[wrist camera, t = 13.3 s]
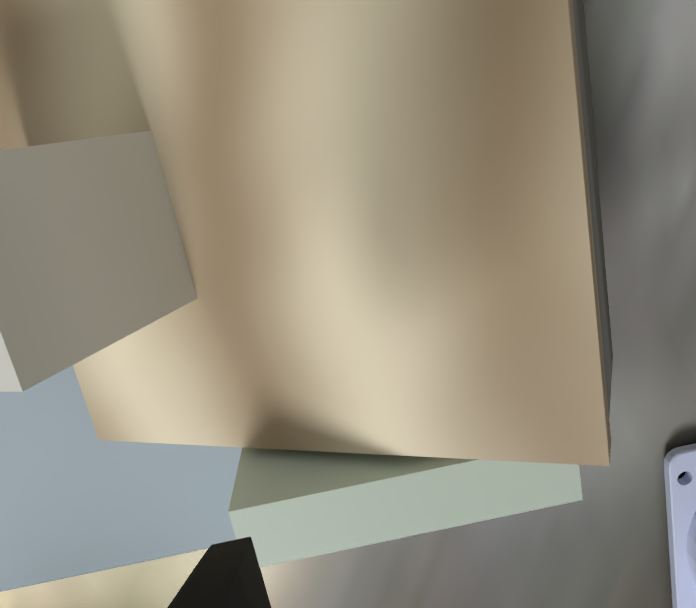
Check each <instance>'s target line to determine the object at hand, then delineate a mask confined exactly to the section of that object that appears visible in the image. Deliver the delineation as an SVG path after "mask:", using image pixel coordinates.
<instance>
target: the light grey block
mask: <svg viewBox="0 0 696 608" xmlns="http://www.w3.org/2000/svg"><path fill="white" fill-rule="evenodd" d="M196 299H197V295H196V291H195V288H194V284H193V280H192V277H191V273H190V269H189V266H188V262H187V258H186V255H185V251H184V247H183V244H182V240H181V237H180V233H179V229H178V226H177V222H176V218H175V215H174V211H173V207H172V204H171V200H170V196H169V193H168V189H167V186H166V182H165V178H164V175H163V171H162V167H161V164H160V160H159V156H158V153H157V149H156V145H155V142H154V138H153V134H152V131H144V132H136V133H129V134H121V135H113V136H106V137H98V138H90V139H83V140H75V141H67V142H60V143H52V144H44V145H37V146H29V147H21V148H14V149H6V150H0V392H23V391H25V390H27V389H29V388H31V387H33V386H35V385H36V384H38V383H40V382H42V381H44V380H46V379H48V378H50V377H51V376H53V375H55V374H57V373H59V372H61V371H63V370H65V369H66V368H68V367H70V366H72V365H74V364H76V363H78V362H80V361H81V360H83V359H85V358H87V357H89V356H91V355H93V354H95V353H96V352H98V351H100V350H102V349H104V348H106V347H108V346H110V345H111V344H113V343H115V342H117V341H119V340H121V339H123V338H125V337H126V336H128V335H130V334H132V333H134V332H136V331H138V330H139V329H141V328H143V327H145V326H147V325H149V324H151V323H153V322H154V321H156V320H158V319H160V318H162V317H164V316H166V315H168V314H169V313H171V312H173V311H175V310H177V309H179V308H181V307H183V306H184V305H186V304H188V303H190V302H192V301H194V300H196Z"/></svg>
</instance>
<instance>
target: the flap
mask: <svg viewBox="0 0 696 608" xmlns="http://www.w3.org/2000/svg"><path fill="white" fill-rule="evenodd" d="M144 131H152V134H153V138H154V142H155V145H156V149H157V153H158V156H159V160H160V164H161V167H162V171H163V175H164V178H165V182H166V186H167V189H168V193H169V196H170V200H171V204H172V207H173V211H174V215H175V218H176V222H177V226H178V229H179V233H180V237H181V240H182V244H183V247H184V251H185V255H186V258H187V262H188V266H189V269H190V273H191V277H192V280H193V284H194V288H195V291H196V295H197V299H196V300H194V301H192V302H190V303H188V304H186V305H184V306H183V307H181V308H179V309H177V310H175V311H173V312H171V313H169V314H168V315H166V316H164V317H162V318H160V319H158V320H156V321H154V322H153V323H151V324H149V325H147V326H145V327H143V328H141V329H139V330H138V331H136V332H134V333H132V334H130V335H128V336H126V337H125V338H123V339H121V340H119V341H117V342H115V343H113V344H111V345H110V346H108V347H106V348H104V349H102V350H100V351H98V352H96V353H95V354H93V355H91V356H89V357H87V358H85V359H83V360H81V361H80V362H78V363H76V364H74V365H73V368H74V370H75V373H76V376H77V379H78V382H79V385H80V388H81V391H82V394H83V396H84V399H85V402H86V405H87V408H88V411H89V414H90V417H91V420H92V422H93V425H94V428H95V431H96V434H97V437H98V440H105V441H124V442H144V443H164V444H183V445H203V446H223V447H242V448H262V449H282V450H301V451H321V452H341V453H360V454H380V455H400V456H419V457H439V458H459V459H478V460H498V461H518V462H537V463H557V464H577V465H596V466H610V449H611V435H610V423H609V412H610V394H611V377H612V359H613V353H612V341H611V329H610V317H609V305H608V293H607V282H606V270H605V258H604V246H603V234H602V222H601V210H600V198H599V186H598V174H597V162H596V150H595V138H594V126H593V114H592V102H591V90H590V78H589V66H588V54H587V42H586V30H585V18H584V6H583V0H0V150H6V149H14V148H21V147H29V146H37V145H44V144H52V143H60V142H67V141H75V140H83V139H90V138H98V137H106V136H113V135H121V134H129V133H136V132H144Z"/></svg>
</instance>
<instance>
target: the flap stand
mask: <svg viewBox="0 0 696 608" xmlns="http://www.w3.org/2000/svg"><path fill="white" fill-rule="evenodd" d="M580 500H583V499H582V490H581V480H580V471H579V465H577V464H557V463H537V462H518V461H498V460H478V459H459V458H439V457H419V456H400V455H380V454H360V453H341V452H321V451H301V450H282V449H262V448H242V451H241V455H240V460H239V464H238V469H237V474H236V478H235V483H234V487H233V492H232V497H231V501H230V506H229V511H228V513H229V516H230V520H231V523H232V527H233V530H234V533H235V537H236V539H241V538H246V537H251V539H252V542H253V546H254V549H255V553H256V556H257V560H258V563H259V567H265V566H269V565H274V564H279V563H284V562H288V561H293V560H298V559H303V558H308V557H312V556H317V555H322V554H327V553H331V552H336V551H341V550H346V549H351V548H355V547H360V546H365V545H370V544H374V543H379V542H384V541H389V540H393V539H398V538H410V537H415V536H419V535H422V534H424V533H427V532H432V531H436V530H441V529H446V528H451V527H456V526H460V525H465V524H470V523H475V522H479V521H484V520H489V519H494V518H498V517H503V516H508V515H513V514H518V513H522V512H527V511H532V510H537V509H541V508H546V507H551V506H556V505H560V504H565V503H570V502H575V501H580Z"/></svg>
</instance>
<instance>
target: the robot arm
mask: <svg viewBox="0 0 696 608" xmlns="http://www.w3.org/2000/svg"><path fill="white" fill-rule="evenodd" d="M682 472H685V475H684V476H683V477H682V478H680V479H677V478H678V476H679V475H680V474H681V473H682ZM664 474H665V490H666V506H667V522H668V539H669V555H670V571H671V587H672V603H673V608H696V443H695V444H690V445H686V446H681V447H677V448H674V449H672V450H671V451H669V452H668V453H667V455H666V457H665V459H664ZM168 608H271V606H270V602H269V598H268V595H267V591H266V588H265V584H264V581H263V577H262V574H261V570H260V567H259V563H258V560H257V556H256V553H255V549H254V546H253V542H252V539H251V537H246V538H241V539H236V540H231V541H227V542H222V543H217V544H212V545H211V546H210V547H209V549H208V550H207V551H206V553H205V554H204V556H203V557H202V558H201V560H200V561H199V563H198V564H197V566H196V567H195V568H194V570H193V571H192V573H191V574H190V576H189V577H188V579H187V580H186V582H185V583H184V584H183V586H182V587H181V589H180V590H179V592H178V593H177V595H176V596H175V598H174V599H173V601H172V602H171V603H170V605H169V606H168Z"/></svg>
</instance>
